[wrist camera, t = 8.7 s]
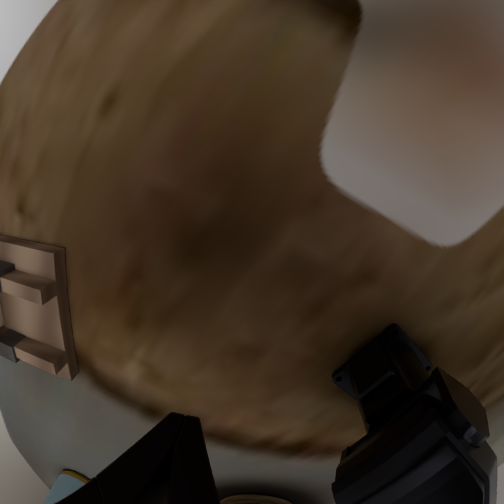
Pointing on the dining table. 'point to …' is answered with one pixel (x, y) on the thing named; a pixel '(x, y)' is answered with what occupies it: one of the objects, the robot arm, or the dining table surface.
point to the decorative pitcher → (253, 499)
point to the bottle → (65, 486)
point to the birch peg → (1, 317)
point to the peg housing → (36, 307)
